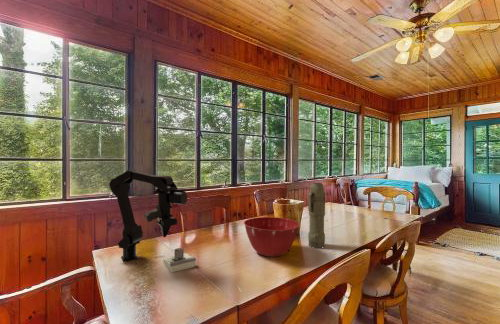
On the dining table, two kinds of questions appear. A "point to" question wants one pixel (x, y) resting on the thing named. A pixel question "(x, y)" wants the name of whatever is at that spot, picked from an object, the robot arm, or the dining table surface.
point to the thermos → (316, 215)
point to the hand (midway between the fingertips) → (164, 237)
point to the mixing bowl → (271, 234)
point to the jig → (179, 263)
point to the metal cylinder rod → (179, 254)
